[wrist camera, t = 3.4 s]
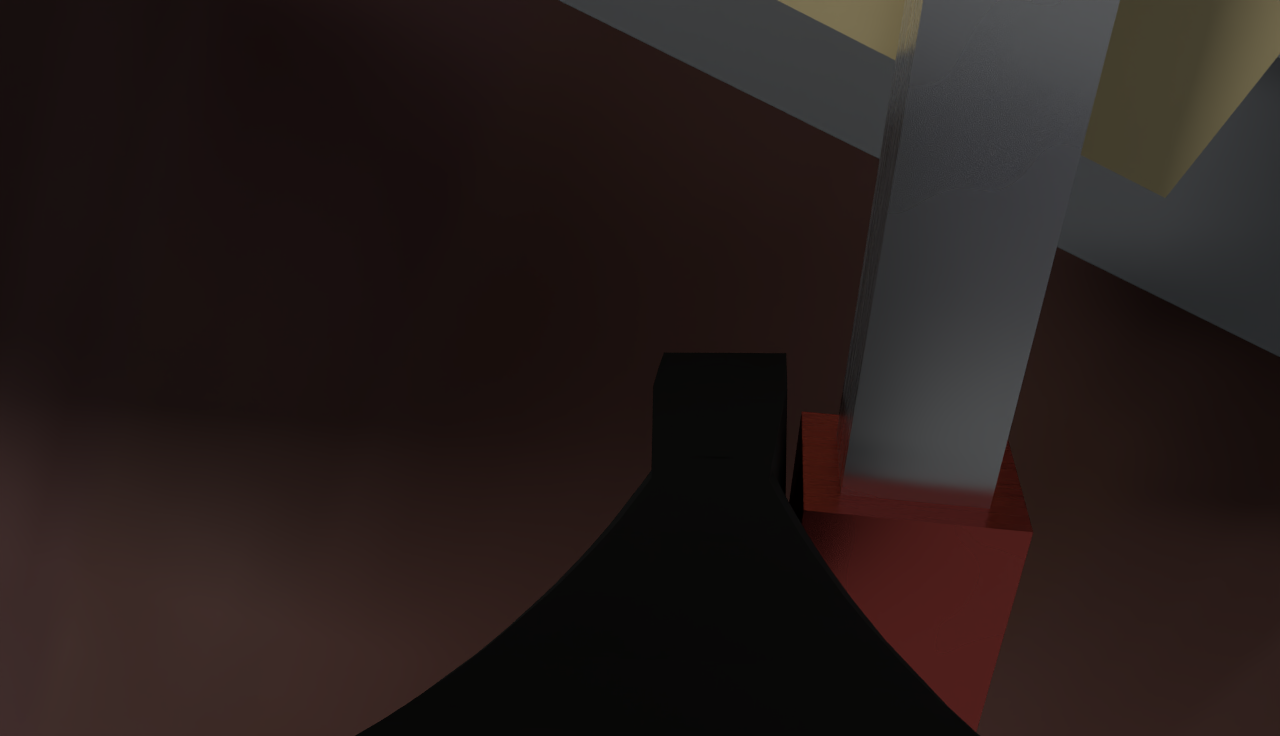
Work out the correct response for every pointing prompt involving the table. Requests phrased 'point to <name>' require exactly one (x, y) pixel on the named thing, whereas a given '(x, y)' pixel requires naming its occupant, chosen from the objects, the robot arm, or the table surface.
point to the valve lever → (951, 329)
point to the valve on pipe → (1114, 142)
